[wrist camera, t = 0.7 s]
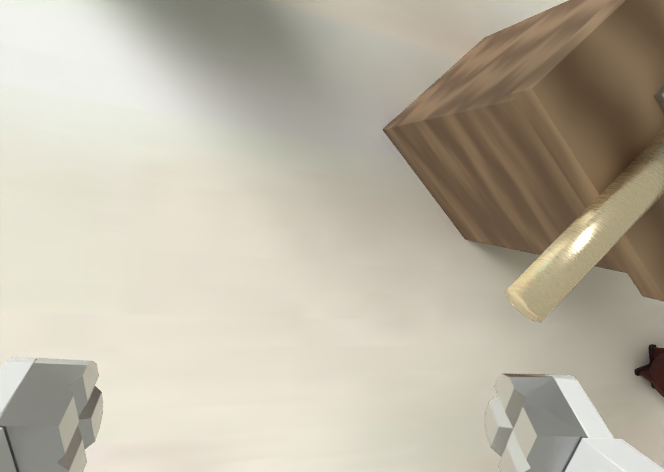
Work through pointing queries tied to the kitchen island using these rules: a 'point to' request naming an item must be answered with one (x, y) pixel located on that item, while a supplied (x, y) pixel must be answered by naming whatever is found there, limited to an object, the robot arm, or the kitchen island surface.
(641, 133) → the lidded wooden box
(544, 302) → the brass handle with plate
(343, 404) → the kitchen island surface
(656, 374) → the mate gourd
